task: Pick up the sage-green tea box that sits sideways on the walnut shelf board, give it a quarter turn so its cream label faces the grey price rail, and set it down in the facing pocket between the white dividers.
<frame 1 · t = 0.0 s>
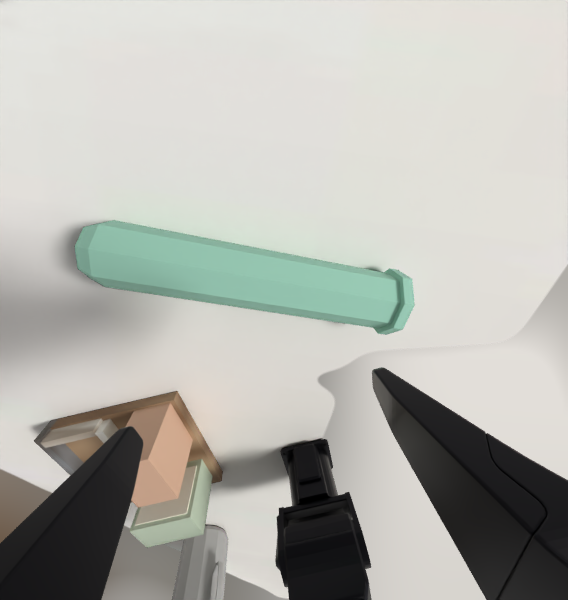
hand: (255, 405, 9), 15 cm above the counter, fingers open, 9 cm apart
tea box: (182, 473, 32), point 1 cm above the counter, touching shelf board
rust box: (164, 426, 28), point 1 cm above the counter, touching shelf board
water bottle: (210, 529, 41), on the counter
container: (255, 267, 22), on the counter
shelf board: (148, 448, 31), on the counter
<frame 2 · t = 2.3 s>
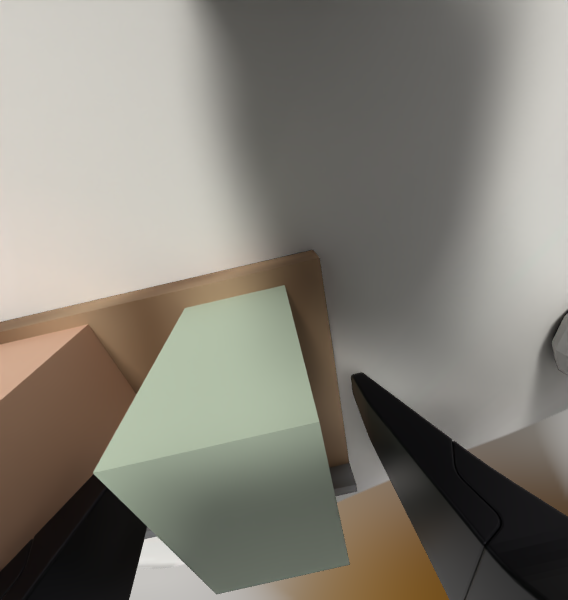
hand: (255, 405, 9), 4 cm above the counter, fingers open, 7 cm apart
tea box: (255, 359, 11), point 1 cm above the counter, touching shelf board
rust box: (40, 380, 10), point 1 cm above the counter, touching gripper, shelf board
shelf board: (190, 404, 13), on the counter
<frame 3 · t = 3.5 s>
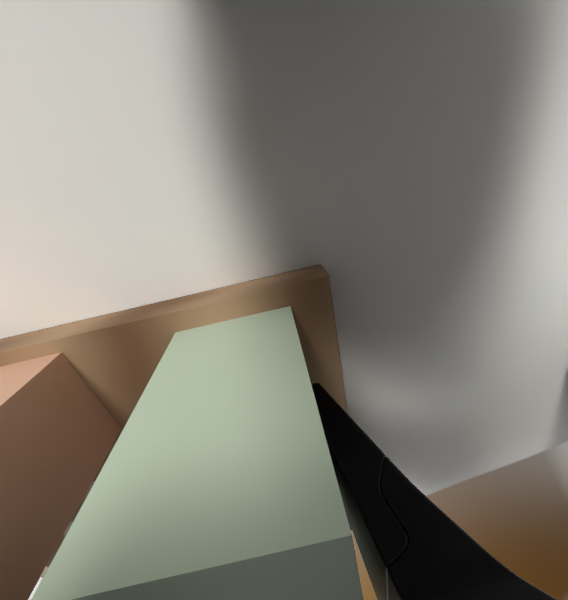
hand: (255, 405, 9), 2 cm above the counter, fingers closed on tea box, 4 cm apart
tea box: (256, 387, 10), point 1 cm above the counter, touching gripper, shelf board
rust box: (9, 413, 9), point 1 cm above the counter, touching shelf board
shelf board: (183, 432, 12), on the counter
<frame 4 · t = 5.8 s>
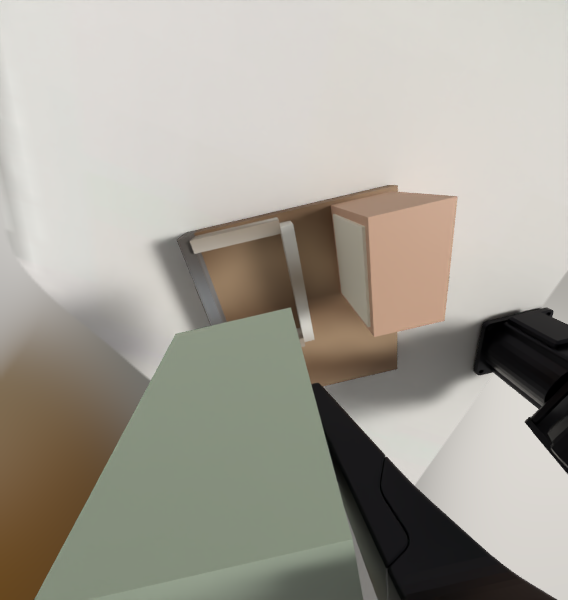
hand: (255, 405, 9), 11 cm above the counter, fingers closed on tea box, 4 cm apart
tea box: (257, 388, 10), point 11 cm above the counter, touching gripper
rust box: (363, 246, 17), point 1 cm above the counter, touching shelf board
water bottle: (337, 462, 31), on the counter
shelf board: (308, 307, 21), on the counter
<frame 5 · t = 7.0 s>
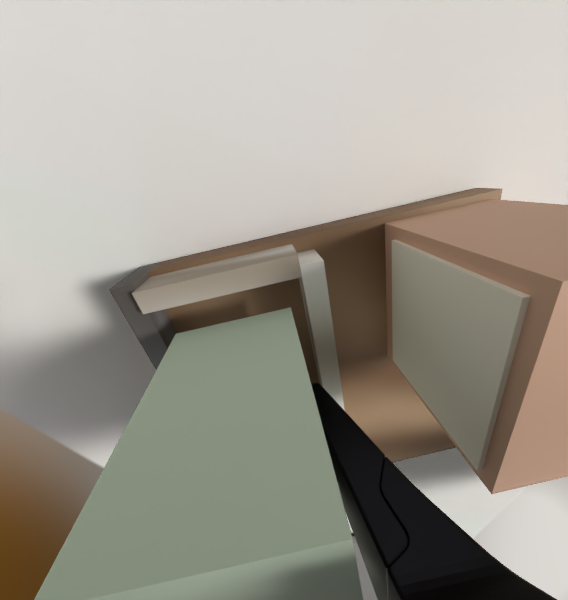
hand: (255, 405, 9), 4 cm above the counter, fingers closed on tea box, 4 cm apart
tea box: (257, 388, 10), point 3 cm above the counter, touching gripper
rust box: (431, 287, 11), point 1 cm above the counter, touching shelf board
water bottle: (360, 541, 24), on the counter
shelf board: (334, 369, 14), on the counter
when the fingers open (3 cm above the counter, at t = 7.9 s): tea box stays where it is, resting on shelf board.
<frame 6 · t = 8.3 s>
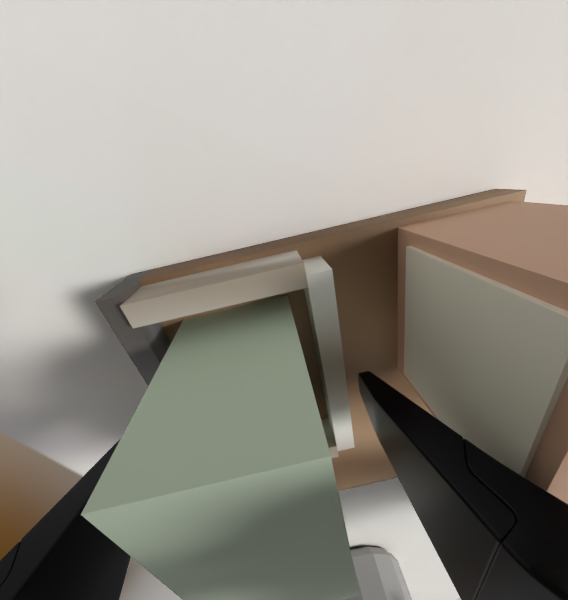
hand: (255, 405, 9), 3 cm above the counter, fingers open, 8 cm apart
tea box: (257, 371, 11), point 1 cm above the counter, touching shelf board
rust box: (445, 296, 10), point 1 cm above the counter, touching gripper, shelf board
water bottle: (364, 553, 23), on the counter
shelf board: (339, 380, 13), on the counter
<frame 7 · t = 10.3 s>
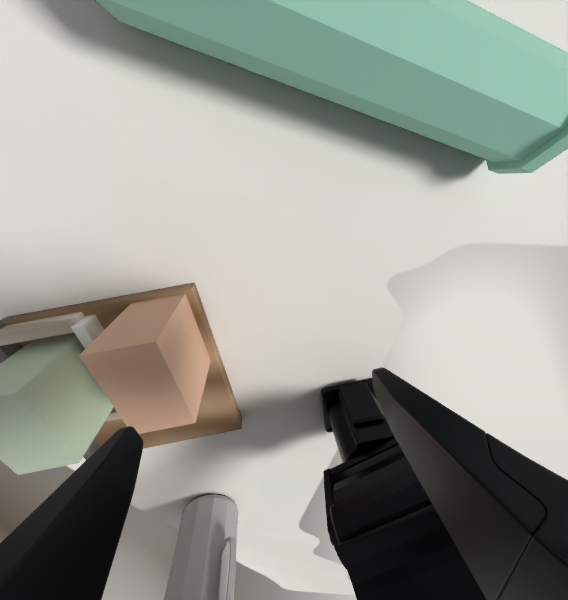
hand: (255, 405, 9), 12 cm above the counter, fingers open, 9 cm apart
tea box: (80, 368, 20), point 1 cm above the counter, touching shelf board
rust box: (174, 334, 19), point 1 cm above the counter, touching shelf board
water bottle: (216, 500, 33), on the counter
container: (334, 60, 14), on the counter
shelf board: (146, 376, 22), on the counter
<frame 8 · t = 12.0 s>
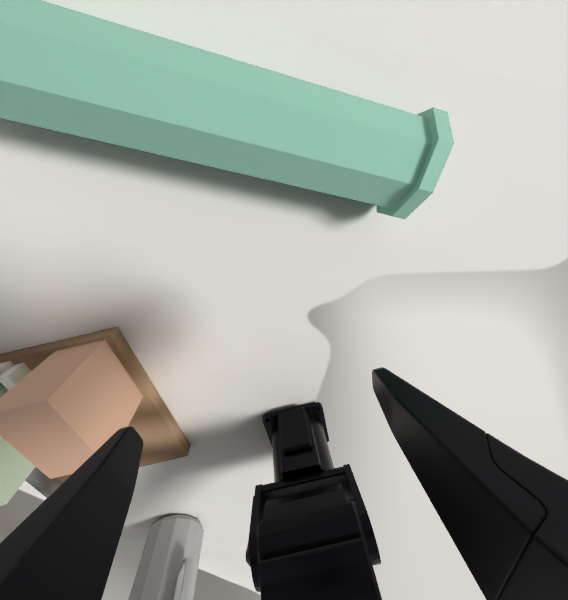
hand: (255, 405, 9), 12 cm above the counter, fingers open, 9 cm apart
tea box: (20, 409, 21), point 1 cm above the counter, touching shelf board
rust box: (102, 375, 21), point 1 cm above the counter, touching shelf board
water bottle: (182, 519, 34), on the counter
container: (211, 124, 15), on the counter
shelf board: (89, 411, 24), on the counter
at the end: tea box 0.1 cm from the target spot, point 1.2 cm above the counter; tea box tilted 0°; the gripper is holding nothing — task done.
